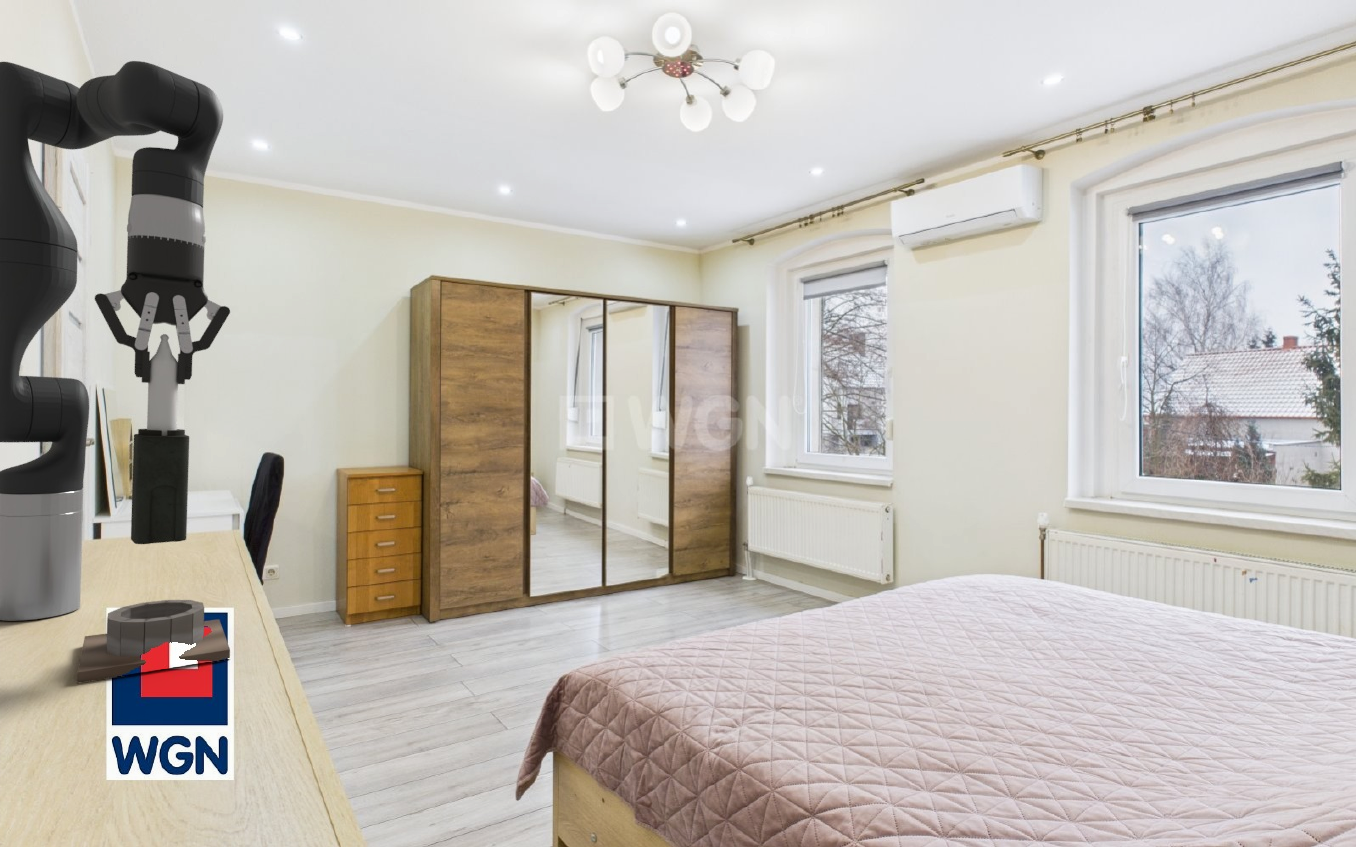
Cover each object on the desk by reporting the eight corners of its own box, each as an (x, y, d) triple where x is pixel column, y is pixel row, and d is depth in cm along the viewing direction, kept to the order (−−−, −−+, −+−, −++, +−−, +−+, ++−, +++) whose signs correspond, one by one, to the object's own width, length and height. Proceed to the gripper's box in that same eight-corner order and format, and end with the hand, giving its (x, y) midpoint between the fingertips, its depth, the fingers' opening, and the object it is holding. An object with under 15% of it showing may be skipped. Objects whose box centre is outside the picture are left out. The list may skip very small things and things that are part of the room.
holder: (84, 645, 87) (85, 604, 87) (219, 628, 96) (220, 590, 95) (76, 683, 76) (78, 635, 76) (229, 659, 84) (230, 616, 84)
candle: (180, 534, 89) (185, 337, 89) (188, 540, 86) (194, 335, 85) (129, 538, 86) (135, 332, 85) (135, 545, 82) (141, 330, 81)
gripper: (232, 254, 92) (228, 386, 92) (93, 235, 84) (89, 380, 84) (238, 245, 86) (234, 386, 86) (89, 223, 78) (85, 379, 78)
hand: (163, 382), depth 85 cm, fingers closed on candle, 3 cm apart
